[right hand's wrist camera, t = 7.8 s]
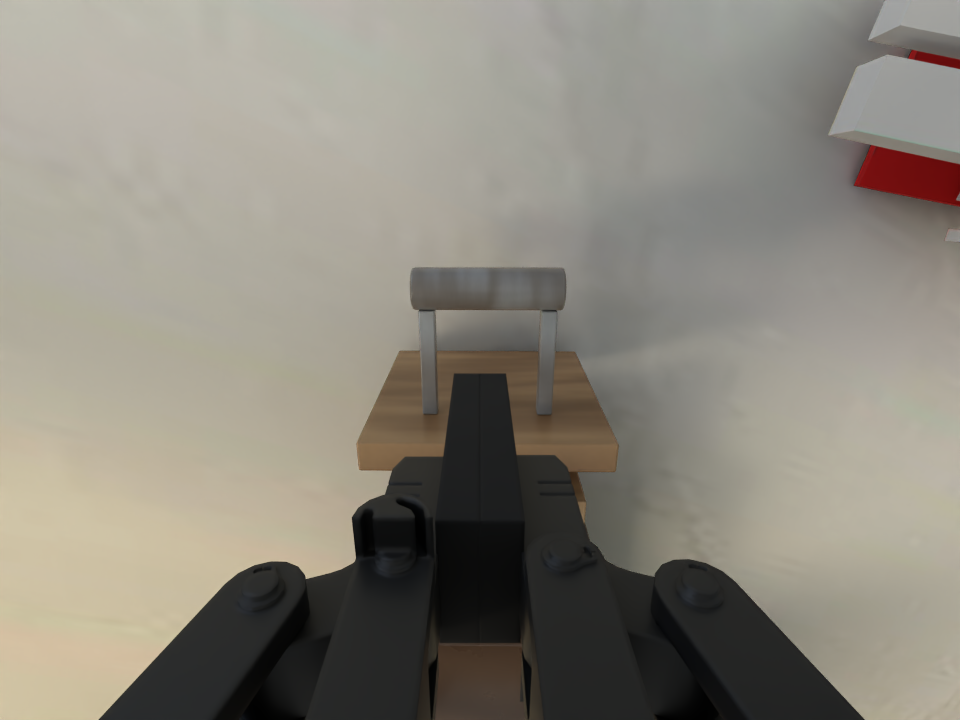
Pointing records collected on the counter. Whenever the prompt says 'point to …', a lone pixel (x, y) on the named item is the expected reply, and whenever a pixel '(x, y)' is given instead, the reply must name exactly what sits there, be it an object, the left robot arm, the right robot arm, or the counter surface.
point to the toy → (909, 104)
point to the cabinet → (479, 681)
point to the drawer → (530, 374)
